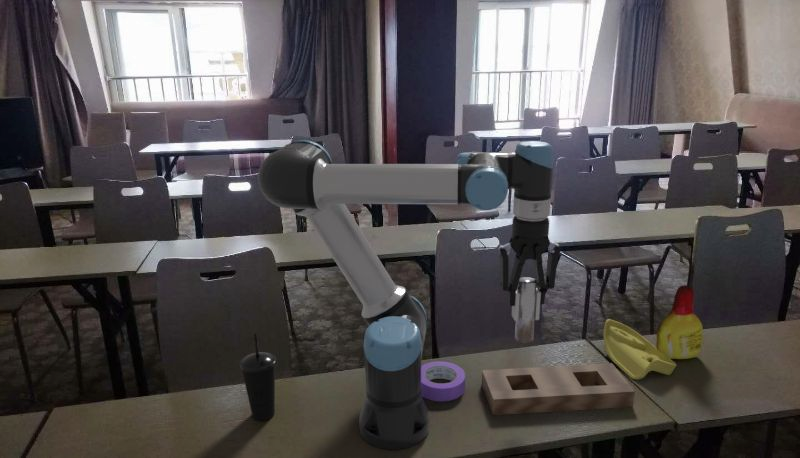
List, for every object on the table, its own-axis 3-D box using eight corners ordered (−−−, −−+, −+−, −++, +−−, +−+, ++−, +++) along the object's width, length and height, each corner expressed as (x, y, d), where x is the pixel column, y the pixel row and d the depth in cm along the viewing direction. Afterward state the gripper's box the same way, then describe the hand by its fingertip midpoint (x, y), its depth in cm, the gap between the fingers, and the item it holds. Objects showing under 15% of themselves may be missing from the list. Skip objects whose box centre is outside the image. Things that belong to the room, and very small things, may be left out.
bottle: (660, 364, 145) (670, 292, 139) (647, 351, 151) (656, 282, 145) (704, 361, 146) (716, 289, 140) (690, 349, 152) (701, 279, 146)
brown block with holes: (492, 415, 126) (493, 399, 125) (481, 384, 138) (482, 370, 137) (633, 406, 128) (635, 391, 127) (610, 377, 140) (612, 363, 139)
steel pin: (517, 343, 126) (520, 284, 122) (512, 334, 130) (515, 277, 125) (535, 342, 126) (539, 283, 122) (530, 333, 130) (533, 276, 126)
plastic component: (680, 367, 140) (652, 357, 136) (664, 391, 141) (636, 383, 137) (629, 326, 157) (603, 316, 153) (616, 348, 159) (589, 339, 155)
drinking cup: (243, 409, 130) (234, 330, 124) (277, 401, 133) (270, 323, 126) (248, 428, 123) (238, 346, 117) (283, 420, 126) (276, 339, 120)
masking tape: (475, 389, 136) (475, 375, 135) (439, 408, 129) (439, 394, 128) (441, 369, 145) (441, 356, 144) (406, 386, 138) (406, 372, 137)
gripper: (495, 223, 115) (491, 327, 122) (577, 220, 116) (568, 323, 123) (487, 212, 122) (483, 312, 129) (564, 210, 123) (557, 308, 130)
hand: (525, 317), depth 126 cm, fingers closed on steel pin, 4 cm apart
